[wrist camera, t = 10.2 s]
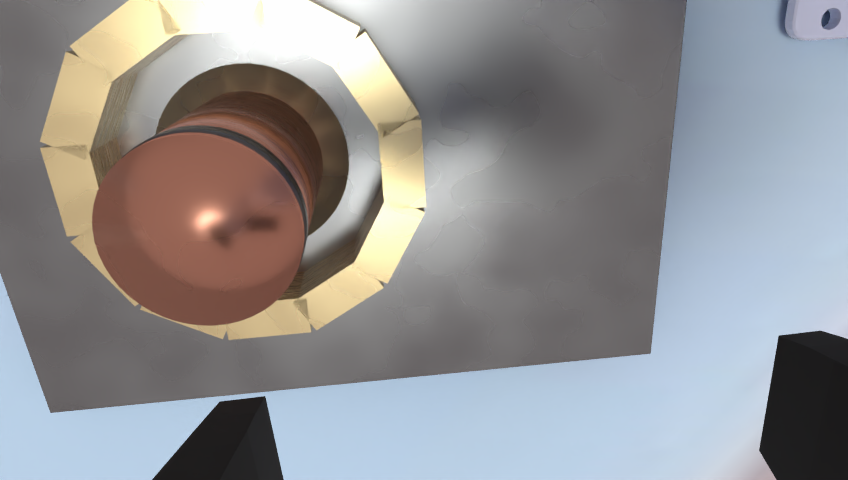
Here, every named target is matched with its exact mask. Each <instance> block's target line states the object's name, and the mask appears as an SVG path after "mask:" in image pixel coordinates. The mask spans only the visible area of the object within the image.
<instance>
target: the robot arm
mask: <svg viewBox="0 0 848 480" xmlns="http://www.w3.org/2000/svg"><path fill="white" fill-rule="evenodd" d="M827 10H828V11H829V12H830V19H829V22H828V24H827V25H826V26H825V27H822V25H821V19H822V16H823V14H824V13H825V12H826V11H827ZM785 29H786V31H787V34H788V35H789V36H790V37H792V38H793V39H798V40H807V41H809V40H824V39H838V38H848V0H788V6H787V12H786V18H785ZM759 451H760V452H761V454H762V456H763V458H764V459H765V461H766V463H767V464H768V466H769V468H770V469H771V471H772V473H773V474H774V476H775V478H776V479H777V480H848V339H846V338H843V337H840V336H836V335H833V334H830V333H826V332H823V331H815V332H806V333H798V334H789V335H781V336H779V338H778V343H777V349H776V355H775V361H774V367H773V373H772V379H771V384H770V390H769V396H768V402H767V408H766V414H765V420H764V426H763V431H762V437H761V443H760V449H759ZM152 480H283V475H282V471H281V466H280V462H279V457H278V453H277V448H276V443H275V439H274V434H273V430H272V425H271V421H270V416H269V412H268V407H267V402H266V398H265V396H264V397H256V398H247V399H239V400H230V401H222V402H219V403H218V404H217V406H216V407H215V408H214V409H213V410H212V411H211V412H210V413H209V415H208V416H207V417H206V418H205V419H204V420H203V421H202V423H201V424H200V425H199V426H198V427H197V428H196V429H195V431H194V432H193V433H192V434H191V435H190V436H189V438H188V439H187V440H186V441H185V442H184V443H183V445H182V446H181V447H180V448H179V449H178V450H177V452H176V453H175V454H174V455H173V456H172V457H171V458H170V460H169V461H168V462H167V463H166V464H165V465H164V467H163V468H162V469H161V470H160V471H159V472H158V474H157V475H156V476H155V477H154V478H153V479H152Z"/></svg>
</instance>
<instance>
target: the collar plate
mask: <svg viewBox="0 0 848 480" xmlns="http://www.w3.org/2000/svg"><path fill="white" fill-rule="evenodd" d="M686 2H687V0H0V273H1V276H2V279H3V282H4V284H5V287H6V290H7V293H8V296H9V298H10V301H11V304H12V307H13V310H14V312H15V315H16V318H17V321H18V323H19V326H20V329H21V332H22V335H23V337H24V340H25V343H26V346H27V349H28V351H29V354H30V357H31V360H32V362H33V365H34V368H35V371H36V374H37V376H38V379H39V382H40V385H41V387H42V390H43V393H44V396H45V399H46V401H47V404H48V407H49V410H50V413H53V412H63V411H74V410H84V409H94V408H104V407H114V406H124V405H134V404H144V403H154V402H165V401H175V400H185V399H195V398H205V397H215V396H225V395H235V394H245V393H256V392H266V391H276V390H286V389H296V388H306V387H316V386H326V385H337V384H347V383H357V382H367V381H377V380H387V379H397V378H407V377H417V376H428V375H438V374H448V373H458V372H468V371H478V370H488V369H498V368H508V367H519V366H529V365H539V364H549V363H559V362H569V361H579V360H589V359H599V358H610V357H620V356H630V355H640V354H650V353H651V343H652V334H653V324H654V314H655V304H656V295H657V285H658V275H659V266H660V256H661V246H662V236H663V227H664V217H665V207H666V197H667V188H668V178H669V168H670V158H671V149H672V139H673V129H674V119H675V110H676V100H677V90H678V80H679V71H680V61H681V51H682V41H683V32H684V22H685V12H686ZM238 91H251V92H258V93H263V94H266V95H269V96H272V97H274V98H277V99H279V100H281V101H283V102H284V103H286V104H288V105H289V106H291V107H292V108H293V109H295V110H296V111H297V112H298V113H299V114H300V115H301V116H302V117H303V118H304V119H305V120H306V121H307V123H308V124H309V125H310V127H311V128H312V130H313V132H314V133H315V135H316V138H317V140H318V142H319V145H320V149H321V153H322V159H323V173H322V180H321V184H320V188H319V192H318V195H317V199H316V203H315V207H314V211H313V215H312V219H311V222H310V226H309V230H308V236H307V242H306V246H305V250H304V254H303V258H302V261H301V264H300V266H299V269H298V271H297V273H296V275H295V277H294V279H293V281H292V282H291V284H290V286H289V287H288V288H287V290H286V291H285V292H284V293H283V295H282V296H281V297H280V298H279V299H278V300H277V301H276V302H274V303H273V304H272V305H271V306H269V307H268V308H266V309H265V310H264V311H262V312H260V313H258V314H256V315H254V316H253V317H250V318H247V319H245V320H242V321H239V322H234V323H230V324H224V325H214V326H202V325H192V324H186V323H182V322H177V321H174V320H171V319H168V318H165V317H162V316H160V315H158V314H156V313H154V312H152V311H150V310H148V309H147V308H145V307H143V306H141V305H140V304H139V303H137V302H136V301H135V300H133V299H132V298H131V297H129V296H128V295H127V294H126V293H125V292H124V291H123V290H122V289H121V288H120V287H119V286H118V285H117V283H116V282H115V281H114V280H113V279H112V278H111V276H110V274H109V273H108V271H107V270H106V268H105V267H104V265H103V263H102V261H101V259H100V256H99V254H98V251H97V248H96V245H95V242H94V236H93V230H92V213H93V205H94V201H95V198H96V194H97V191H98V189H99V187H100V185H101V183H102V181H103V179H104V178H105V176H106V175H107V173H108V172H109V170H110V169H111V168H112V167H113V166H114V165H115V164H116V163H117V162H118V161H119V160H120V159H121V158H122V157H123V156H124V155H125V154H126V153H128V152H129V151H130V150H131V149H133V148H134V147H135V146H137V145H139V144H140V143H142V142H143V141H145V140H147V139H148V138H150V137H152V136H154V135H156V134H158V133H159V132H161V131H162V130H164V129H165V128H167V127H168V126H170V125H171V124H173V123H175V122H176V121H178V120H179V119H181V118H182V117H184V116H185V115H187V114H188V113H190V112H191V111H193V110H194V109H196V108H198V107H199V106H201V105H202V104H204V103H205V102H207V101H209V100H210V99H212V98H214V97H217V96H219V95H222V94H226V93H230V92H238Z"/></svg>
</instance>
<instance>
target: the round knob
mask: <svg viewBox="0 0 848 480" xmlns="http://www.w3.org/2000/svg"><path fill="white" fill-rule="evenodd" d="M322 173H323V159H322V153H321V149H320V145H319V142H318V140H317V138H316V135H315V133H314V132H313V130H312V128H311V127H310V125H309V124H308V123H307V121H306V120H305V119H304V118H303V117H302V116H301V115H300V114H299V113H298V112H297V111H296V110H295V109H293V108H292V107H291V106H289V105H288V104H286V103H284V102H283V101H281V100H279V99H277V98H274V97H272V96H269V95H266V94H263V93H258V92H251V91H238V92H230V93H226V94H222V95H219V96H217V97H214V98H212V99H210V100H209V101H207V102H205V103H204V104H202V105H201V106H199V107H198V108H196V109H194V110H193V111H191V112H190V113H188V114H187V115H185V116H184V117H182V118H181V119H179V120H178V121H176V122H175V123H173V124H171V125H170V126H168V127H167V128H165V129H164V130H162V131H161V132H159V133H158V134H156V135H154V136H152V137H150V138H148V139H147V140H145V141H143V142H142V143H140V144H139V145H137V146H135V147H134V148H133V149H131V150H130V151H129V152H128V153H126V154H125V155H124V156H123V157H122V158H121V159H120V160H119V161H118V162H117V163H116V164H115V165H114V166H113V167H112V168H111V169H110V170H109V172H108V173H107V175H106V176H105V178H104V179H103V181H102V183H101V185H100V187H99V189H98V191H97V194H96V198H95V201H94V205H93V213H92V230H93V236H94V242H95V245H96V248H97V251H98V254H99V256H100V259H101V261H102V263H103V265H104V267H105V268H106V270H107V271H108V273H109V274H110V276H111V278H112V279H113V280H114V281H115V282H116V283H117V285H118V286H119V287H120V288H121V289H122V290H123V291H124V292H125V293H126V294H127V295H128V296H129V297H131V298H132V299H133V300H135V301H136V302H137V303H139V304H140V305H141V306H143V307H145V308H147V309H148V310H150V311H152V312H154V313H156V314H158V315H160V316H162V317H165V318H168V319H171V320H174V321H177V322H182V323H186V324H192V325H202V326H214V325H224V324H230V323H234V322H239V321H242V320H245V319H247V318H250V317H253V316H254V315H256V314H258V313H260V312H262V311H264V310H265V309H266V308H268V307H269V306H271V305H272V304H273V303H274V302H276V301H277V300H278V299H279V298H280V297H281V296H282V295H283V293H284V292H285V291H286V290H287V288H288V287H289V286H290V284H291V282H292V281H293V279H294V277H295V275H296V273H297V271H298V269H299V266H300V264H301V261H302V258H303V254H304V250H305V246H306V242H307V236H308V230H309V226H310V222H311V219H312V215H313V211H314V207H315V203H316V199H317V195H318V192H319V188H320V184H321V180H322Z"/></svg>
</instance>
